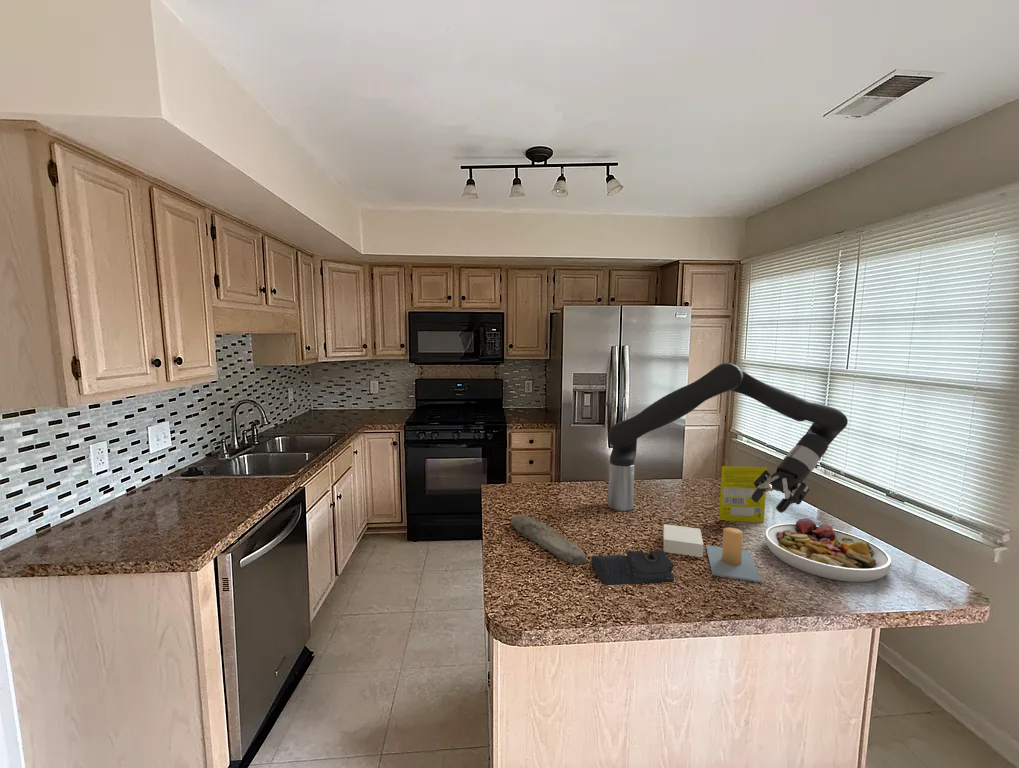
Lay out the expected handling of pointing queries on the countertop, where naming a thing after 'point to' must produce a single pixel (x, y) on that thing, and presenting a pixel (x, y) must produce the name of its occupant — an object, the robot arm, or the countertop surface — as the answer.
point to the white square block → (683, 540)
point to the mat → (732, 566)
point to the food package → (740, 494)
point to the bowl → (827, 552)
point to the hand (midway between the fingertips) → (765, 505)
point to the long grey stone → (548, 539)
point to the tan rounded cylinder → (732, 546)
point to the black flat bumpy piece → (634, 568)
